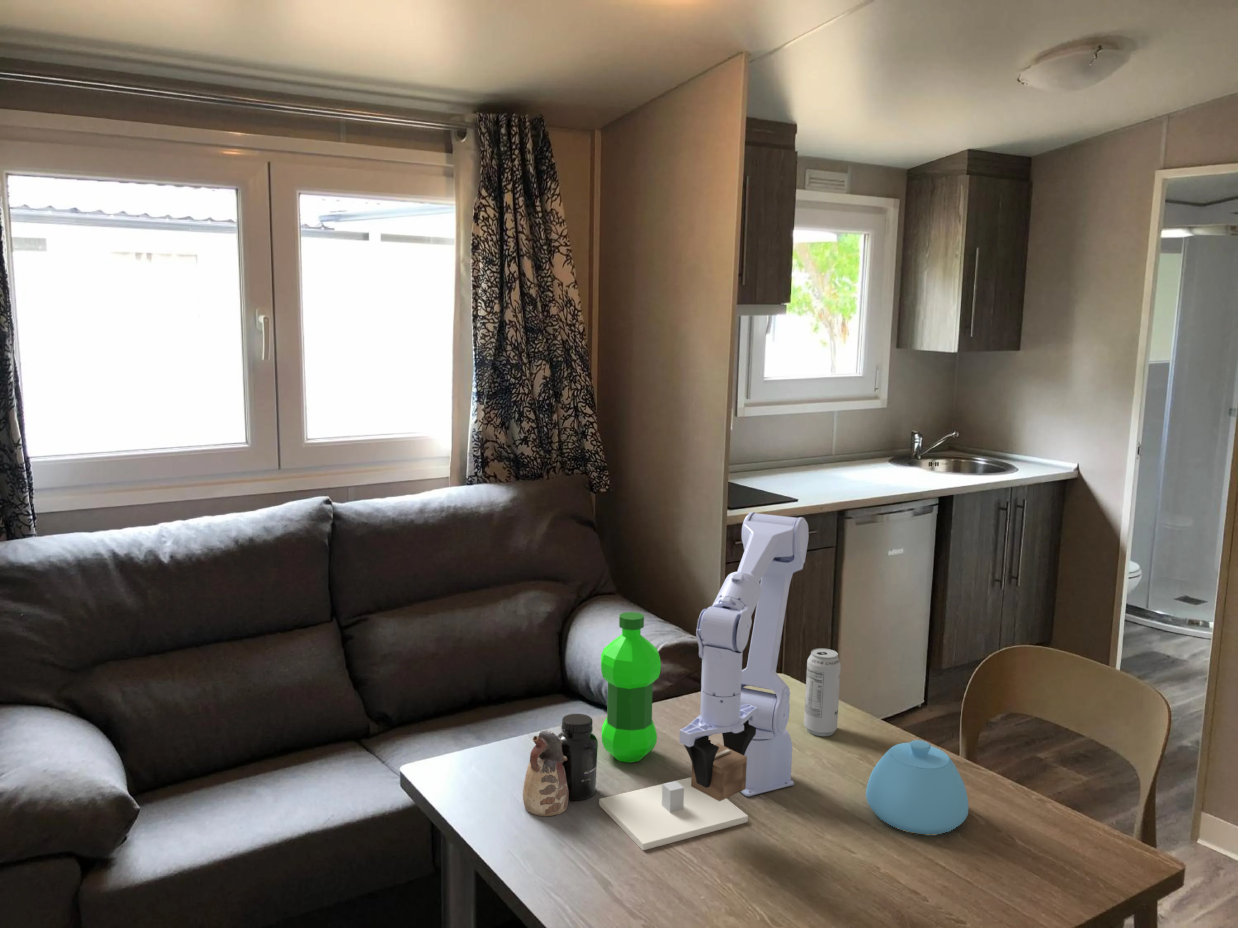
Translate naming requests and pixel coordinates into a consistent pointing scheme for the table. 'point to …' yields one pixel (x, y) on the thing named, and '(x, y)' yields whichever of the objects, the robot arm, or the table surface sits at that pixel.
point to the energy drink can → (822, 692)
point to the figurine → (546, 777)
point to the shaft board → (670, 813)
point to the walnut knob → (724, 774)
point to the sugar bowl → (917, 789)
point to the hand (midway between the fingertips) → (717, 777)
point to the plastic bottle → (630, 691)
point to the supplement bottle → (579, 755)
